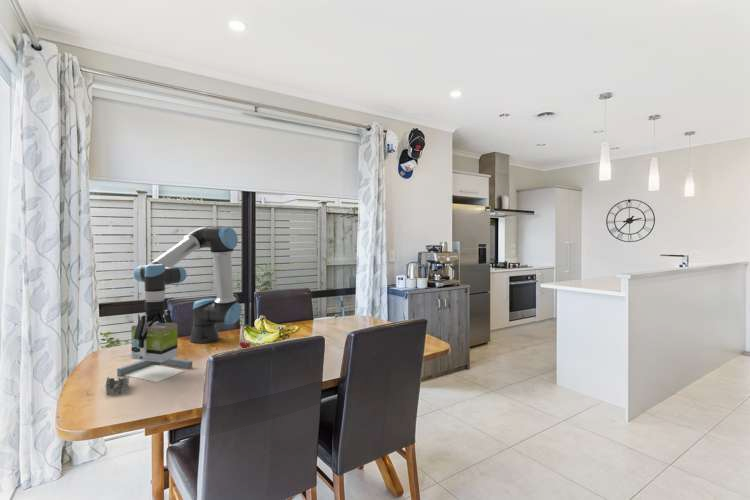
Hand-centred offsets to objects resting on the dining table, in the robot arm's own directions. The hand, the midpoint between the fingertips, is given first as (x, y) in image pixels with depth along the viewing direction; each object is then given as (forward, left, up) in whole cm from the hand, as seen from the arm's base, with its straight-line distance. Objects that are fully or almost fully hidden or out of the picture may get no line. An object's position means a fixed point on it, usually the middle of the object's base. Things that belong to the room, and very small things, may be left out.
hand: (155, 351), depth 163 cm
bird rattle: (-24, +27, -10) cm, 37 cm away
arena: (-2, -1, -10) cm, 10 cm away
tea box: (0, 0, -3) cm, 3 cm away
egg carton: (+18, +1, -10) cm, 20 cm away
